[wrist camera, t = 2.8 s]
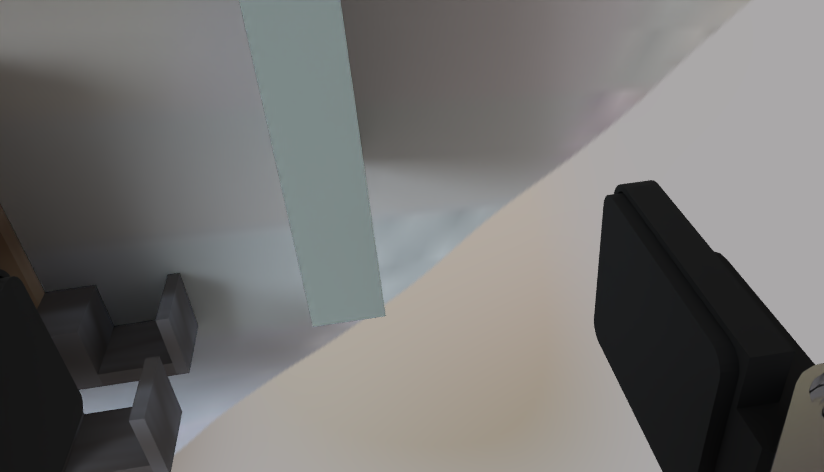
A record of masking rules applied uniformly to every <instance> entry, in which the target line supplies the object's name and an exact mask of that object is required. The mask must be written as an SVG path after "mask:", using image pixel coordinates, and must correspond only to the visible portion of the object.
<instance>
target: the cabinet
mask: <svg viewBox="0 0 824 472" xmlns="http://www.w3.org/2000/svg"><path fill="white" fill-rule="evenodd" d="M0 269H2V270H4V271H6V272H7V273H8V274H9V275H10V277H11V276H15V277H18V278H19V279H21V281H22V282H23V284H24V286H25V288H26V290H27V291H28V293H29V295H30V297H31V299H32V301H33V303H34V305H35V307H36V309H37V311H38V313H39V315H40V317H41V318H42V320H43V322H44V324H45V326H46V328H47V330H48V332H49V334H50V336H51V338H52V340H53V342H54V344H55V345H56V347H57V349H58V351H59V353H60V355H61V357H62V359H63V361H64V363H65V365H66V367H67V369H68V370H69V372H70V374H71V376H72V378H73V380H74V382H75V384H76V386H77V388H78V390H81V389H87V388H94V387H100V386H107V385H113V384H120V383H127V382H133V381H139V384H138V388H137V392H136V395H135V399H134V403H133V407H128V408H122V409H116V410H109V411H103V412H96V413H90V414H84V413H82V417H81V420H80V423H79V426H78V428H77V431H76V434H75V437H74V439H73V442H72V445H71V448H70V451H69V453H68V456H67V459H66V462H65V464H64V467H63V470H62V472H171V467H172V462H173V457H174V452H175V446H176V441H177V436H178V431H179V425H180V420H181V415H182V410H181V408H180V405H179V403H178V401H177V398H176V396H175V393H174V391H173V388H172V386H171V383H170V381H169V379H168V376H172V375H179V374H185V373H189V372H190V367H191V361H192V356H193V351H194V345H195V340H196V335H197V329H198V324H197V321H196V318H195V315H194V313H193V310H192V307H191V304H190V301H189V298H188V296H187V293H186V290H185V287H184V284H183V282H182V279H181V276H180V273H177V274H170V275H167V279H166V283H165V287H164V290H163V294H162V298H161V302H160V305H159V309H158V313H157V317H156V320H155V321H148V322H141V323H134V324H128V325H121V326H114V325H113V323H112V321H111V319H110V317H109V314H108V312H107V310H106V308H105V305H104V303H103V301H102V299H101V296H100V294H99V292H98V290H97V287H96V285H94V286H87V287H81V288H74V289H67V290H60V291H53V292H46V293H45V292H44V290H43V288H42V286H41V284H40V282H39V280H38V278H37V276H36V274H35V272H34V270H33V268H32V266H31V264H30V262H29V260H28V258H27V256H26V254H25V252H24V250H23V248H22V246H21V244H20V242H19V240H18V238H17V236H16V234H15V232H14V230H13V228H12V226H11V224H10V222H9V220H8V218H7V217H6V215H5V213H4V211H3V209H2V207H1V205H0Z"/></svg>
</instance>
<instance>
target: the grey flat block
mask: <svg viewBox="0 0 824 472" xmlns="http://www.w3.org/2000/svg"><path fill="white" fill-rule="evenodd" d="M239 2H240V7H241V11H242V16H243V20H244V24H245V29H246V33H247V38H248V42H249V47H250V51H251V55H252V60H253V64H254V69H255V73H256V78H257V82H258V86H259V91H260V95H261V100H262V104H263V109H264V113H265V117H266V122H267V126H268V131H269V135H270V140H271V144H272V148H273V153H274V157H275V162H276V166H277V170H278V175H279V179H280V184H281V188H282V193H283V197H284V201H285V206H286V210H287V215H288V219H289V224H290V228H291V232H292V237H293V241H294V246H295V250H296V255H297V259H298V263H299V268H300V272H301V277H302V281H303V286H304V290H305V294H306V299H307V303H308V308H309V312H310V316H311V321H312V325H313V327H316V326H323V325H330V324H336V323H343V322H349V321H356V320H363V319H369V318H376V317H383V316H385V308H384V301H383V294H382V287H381V280H380V273H379V266H378V259H377V252H376V245H375V238H374V231H373V224H372V217H371V210H370V203H369V197H368V190H367V183H366V176H365V169H364V162H363V155H362V148H361V141H360V134H359V127H358V120H357V113H356V106H355V99H354V92H353V85H352V78H351V71H350V64H349V57H348V50H347V43H346V36H345V29H344V22H343V15H342V8H341V1H340V0H239Z"/></svg>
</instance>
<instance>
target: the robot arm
mask: <svg viewBox="0 0 824 472" xmlns="http://www.w3.org/2000/svg"><path fill="white" fill-rule="evenodd" d="M594 327H595V332H596V336H597V339H598V341H599V344H600V346H601V347H602V349H603V352H604V354H605V356H606V358H607V360H608V362H609V364H610V366H611V368H612V370H613V372H614V374H615V376H616V378H617V380H618V382H619V384H620V386H621V388H622V390H623V392H624V394H625V396H626V398H627V400H628V402H629V405H630V407H631V408H632V411H633V413H634V415H635V417H636V419H637V421H638V423H639V425H640V427H641V429H642V431H643V433H644V435H645V437H646V439H647V441H648V443H649V445H650V447H651V449H652V451H653V453H654V455H655V457H656V459H657V461H658V463H659V465H660V467H661V469H662V471H663V472H824V363H823V364H818V365H815V364H814V363H813V362H812V361H811V360H810V358H809V357H808V356H807V355H806V353H805V352H804V351H803V350H802V349H801V347H800V346H799V345H798V344H797V343H796V341H795V340H794V339H793V338H792V337H791V335H790V334H789V333H788V332H787V331H786V329H785V328H784V327H783V326H782V325H781V324H780V322H779V321H778V320H777V319H776V318H775V316H774V315H773V314H772V313H771V312H770V310H769V309H768V308H767V307H766V306H765V305H764V303H763V302H762V301H761V300H760V298H759V297H758V296H757V295H756V294H755V292H754V291H753V290H752V289H751V288H750V287H749V285H748V284H747V283H746V282H745V280H744V279H743V278H742V277H741V276H740V275H739V273H738V272H737V271H736V270H735V268H734V267H733V266H732V265H731V264H730V263H729V261H728V260H727V259H726V258H725V257H724V256H722V255H721V254H720V253H717V252H714V251H713V250H712V249H711V248H710V247H709V245H708V244H707V243H706V242H705V240H704V239H703V238H702V237H701V236H700V234H699V233H698V232H697V231H696V229H695V228H694V227H693V226H692V225H691V223H690V222H689V221H688V220H687V219H686V218H685V216H684V215H683V214H682V213H681V211H680V210H679V209H678V208H677V206H676V205H675V204H674V203H673V202H672V200H671V199H670V198H669V197H668V195H667V194H666V193H665V192H664V191H663V189H662V188H661V187H660V186H659V185H658V183H656V182H655V181H652V180H650V181H643V182H635V183H628V184H620V185H618V186H617V187H616V189H615V192H614V194H613V195H607V196H606V198H605V200H604V207H603V219H602V230H601V242H600V254H599V266H598V278H597V290H596V303H595V314H594ZM82 413H83V401H82V397H81V394H80V392H79V390H78V388H77V386H76V384H75V382H74V380H73V378H72V376H71V374H70V372H69V370H68V369H67V367H66V365H65V363H64V361H63V359H62V357H61V355H60V353H59V351H58V349H57V347H56V345H55V344H54V342H53V340H52V338H51V336H50V334H49V332H48V330H47V328H46V326H45V324H44V322H43V320H42V318H41V317H40V315H39V313H38V311H37V309H36V307H35V305H34V303H33V301H32V299H31V297H30V295H29V293H28V291H27V290H26V288H25V286H24V284H23V282H22V281H21V279H19V278H18V277H15V276H11V277H10V275H9V274H8V273H7V272H6V271H4V270H2V269H0V472H62V470H63V467H64V464H65V462H66V459H67V456H68V453H69V451H70V448H71V445H72V442H73V439H74V437H75V434H76V431H77V428H78V426H79V423H80V420H81V417H82Z"/></svg>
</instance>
